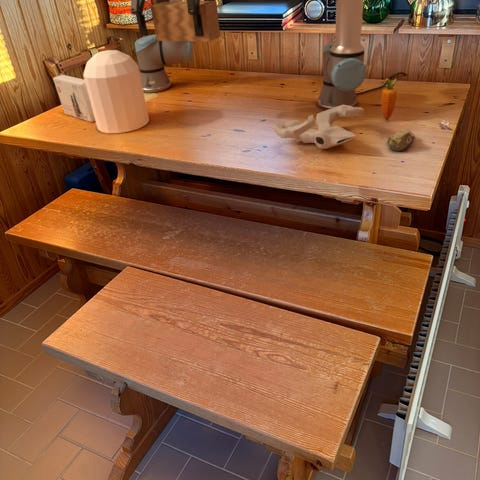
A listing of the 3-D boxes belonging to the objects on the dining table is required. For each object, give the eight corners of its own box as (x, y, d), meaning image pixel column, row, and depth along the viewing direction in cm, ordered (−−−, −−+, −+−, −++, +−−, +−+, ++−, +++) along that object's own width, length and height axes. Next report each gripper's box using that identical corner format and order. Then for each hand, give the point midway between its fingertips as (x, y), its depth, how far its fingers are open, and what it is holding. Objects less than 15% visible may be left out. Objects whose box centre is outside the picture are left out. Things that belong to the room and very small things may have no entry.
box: (156, 40, 162) (150, 5, 156) (168, 36, 167) (162, 1, 161) (209, 41, 153) (205, 4, 147) (220, 36, 159) (216, 0, 152)
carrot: (394, 118, 167) (398, 76, 158) (393, 123, 163) (397, 80, 154) (379, 117, 168) (383, 75, 160) (378, 122, 165) (382, 80, 156)
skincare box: (63, 114, 202) (52, 77, 193) (74, 110, 205) (63, 74, 196) (91, 122, 190) (80, 83, 181) (101, 118, 193) (91, 80, 184)
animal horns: (271, 156, 148) (270, 121, 142) (282, 128, 169) (280, 95, 163) (362, 157, 142) (365, 119, 136) (361, 127, 163) (363, 93, 157)
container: (103, 137, 175) (82, 61, 159) (92, 121, 191) (73, 50, 175) (155, 125, 181) (141, 50, 166) (141, 110, 198) (127, 41, 182)
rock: (408, 140, 153) (379, 139, 152) (414, 122, 149) (384, 120, 148) (421, 154, 144) (391, 153, 143) (428, 135, 140) (396, 133, 139)
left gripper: (129, -35, 142) (143, 38, 154) (173, -43, 160) (182, 23, 172) (110, -34, 145) (125, 38, 157) (155, -42, 163) (165, 23, 175)
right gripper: (189, -44, 135) (200, 40, 148) (221, -50, 149) (228, 26, 162) (168, -42, 138) (180, 40, 151) (201, -49, 152) (210, 26, 165)
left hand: (155, 30), depth 164 cm, fingers open, 13 cm apart
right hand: (205, 33), depth 156 cm, fingers closed on box, 7 cm apart
